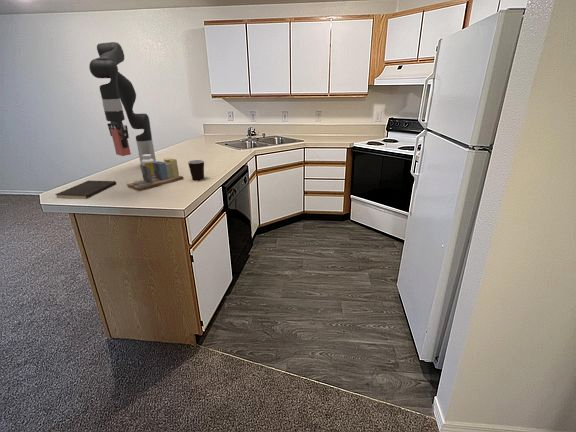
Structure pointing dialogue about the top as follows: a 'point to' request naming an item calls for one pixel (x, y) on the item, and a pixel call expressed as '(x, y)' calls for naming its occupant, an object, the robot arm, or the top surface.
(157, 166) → the shelf
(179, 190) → the top surface
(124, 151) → the book
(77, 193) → the hardcover book
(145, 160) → the supplement bottle
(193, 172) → the coffee mug
